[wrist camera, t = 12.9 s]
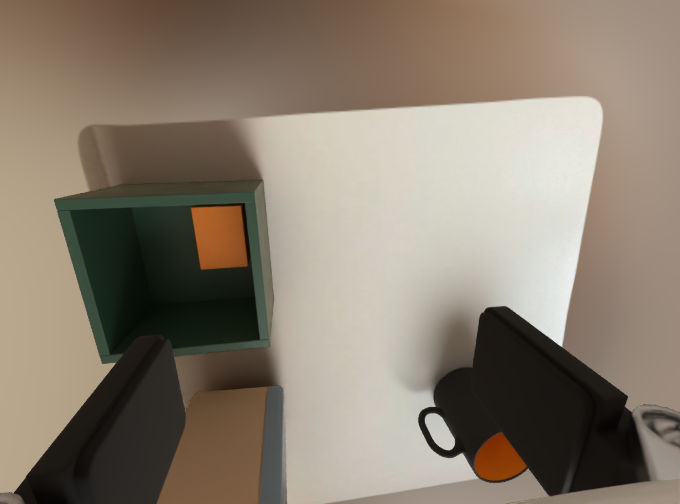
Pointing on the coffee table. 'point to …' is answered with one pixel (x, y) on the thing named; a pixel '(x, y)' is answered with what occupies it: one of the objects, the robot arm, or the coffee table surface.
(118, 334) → the bin
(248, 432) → the alarm clock
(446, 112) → the coffee table surface
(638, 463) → the robot arm
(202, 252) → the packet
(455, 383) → the mug
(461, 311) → the coffee table surface
